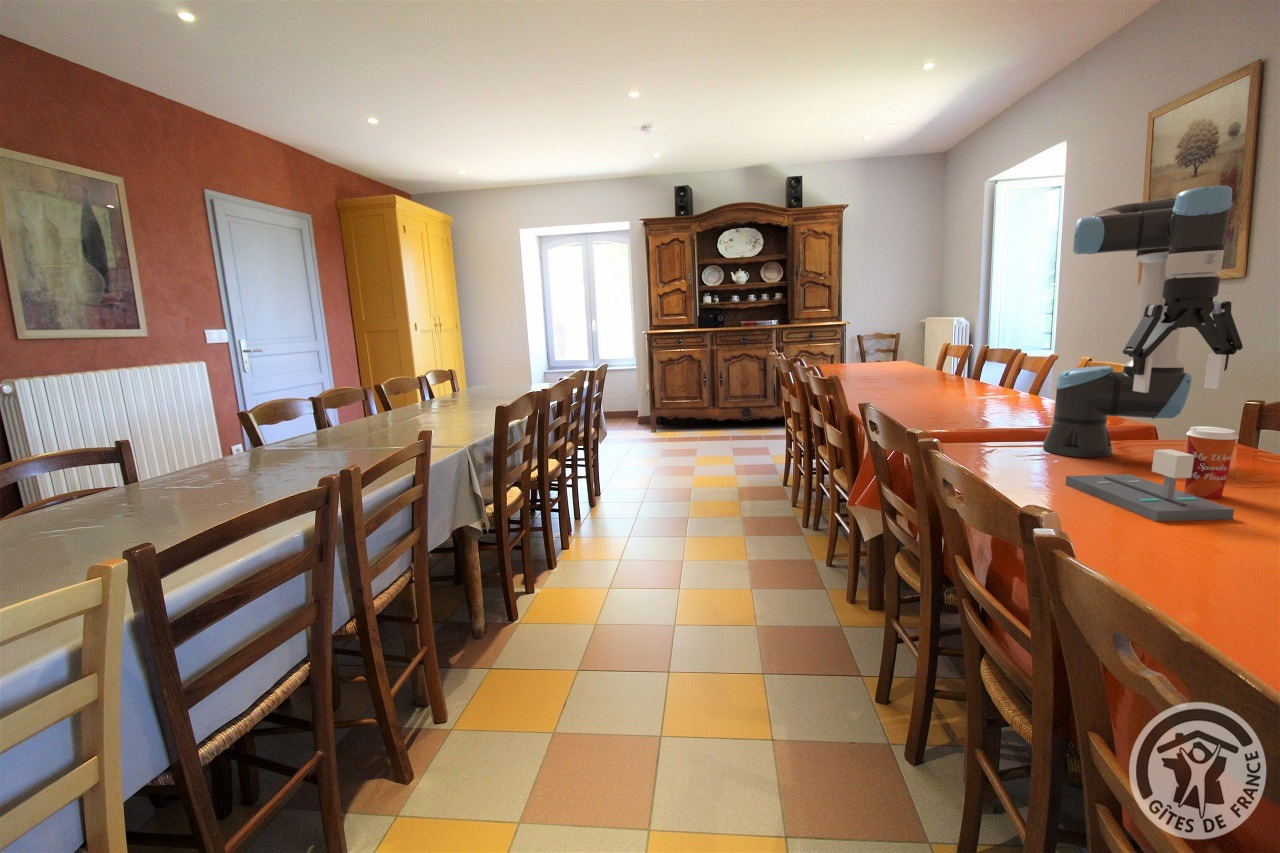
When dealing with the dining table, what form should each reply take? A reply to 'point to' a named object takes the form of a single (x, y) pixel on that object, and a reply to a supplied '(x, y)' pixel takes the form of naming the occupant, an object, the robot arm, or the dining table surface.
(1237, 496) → the dining table surface
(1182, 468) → the fader
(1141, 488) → the console board
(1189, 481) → the paper cup
